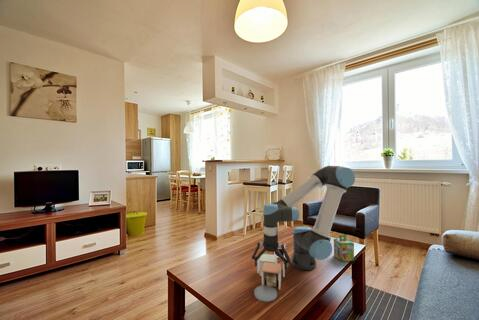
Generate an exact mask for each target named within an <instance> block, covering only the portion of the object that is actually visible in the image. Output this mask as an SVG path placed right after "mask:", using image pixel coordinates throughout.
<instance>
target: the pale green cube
mask: <svg viewBox="0 0 479 320" xmlns="http://www.w3.org/2000/svg"><path fill="white" fill-rule="evenodd" d="M264 262H268V263H278V255H277V254H272V253H271V254H268V253H263V254H262V255H261V257H260V258H259V277H262V268H263V264H264Z"/></svg>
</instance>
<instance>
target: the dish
mask: <svg viewBox="0 0 479 320" xmlns="http://www.w3.org/2000/svg"><path fill="white" fill-rule="evenodd" d="M253 291H254V292H253V293H254V297H255V298H256V299H257V300H258V301H260V302H263V303H265V302H266V303H269V302H272V301H275V300H276V299H277V297H278V292H277V289H276V287H274V286H267V284H264V285H262V284H261V285H258V286H257V287H256V288H255V289H254V290H253Z"/></svg>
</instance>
